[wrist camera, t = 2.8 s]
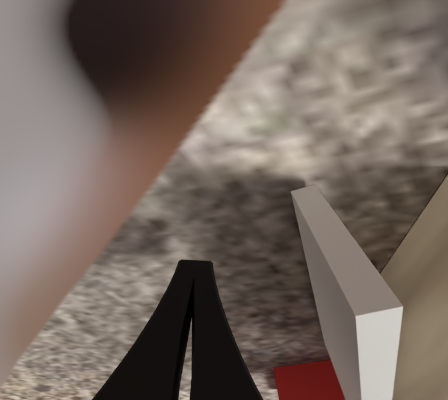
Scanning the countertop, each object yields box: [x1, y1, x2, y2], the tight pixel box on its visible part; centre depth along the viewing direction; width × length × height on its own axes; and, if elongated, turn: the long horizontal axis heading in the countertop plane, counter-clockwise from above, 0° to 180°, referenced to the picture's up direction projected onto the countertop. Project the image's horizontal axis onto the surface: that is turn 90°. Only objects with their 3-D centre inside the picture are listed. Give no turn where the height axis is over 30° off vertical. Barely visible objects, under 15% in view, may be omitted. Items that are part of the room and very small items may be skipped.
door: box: [291, 184, 403, 400], centre depth 11 cm, size 1×13×6 cm, turn 19°
